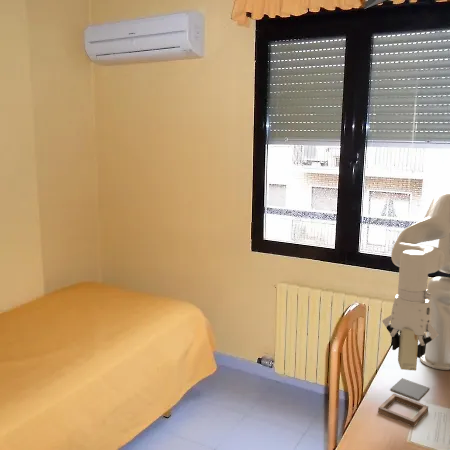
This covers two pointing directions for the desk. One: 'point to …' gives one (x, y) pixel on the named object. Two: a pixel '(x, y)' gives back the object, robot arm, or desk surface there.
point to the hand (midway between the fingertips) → (407, 351)
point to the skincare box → (408, 349)
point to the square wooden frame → (399, 417)
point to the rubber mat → (410, 389)
